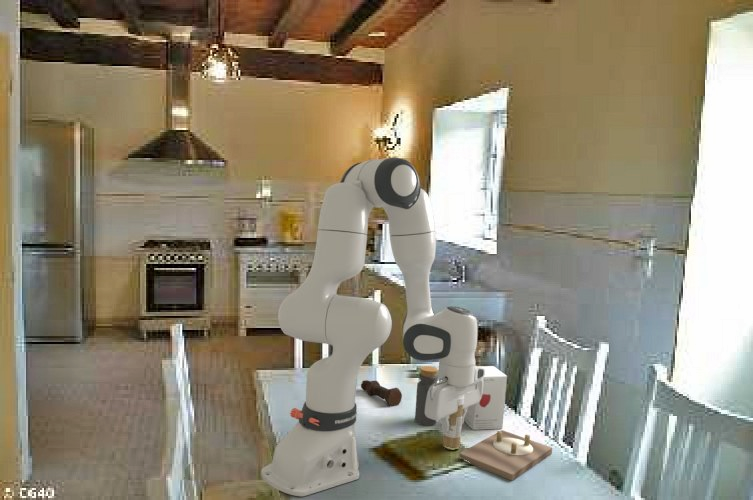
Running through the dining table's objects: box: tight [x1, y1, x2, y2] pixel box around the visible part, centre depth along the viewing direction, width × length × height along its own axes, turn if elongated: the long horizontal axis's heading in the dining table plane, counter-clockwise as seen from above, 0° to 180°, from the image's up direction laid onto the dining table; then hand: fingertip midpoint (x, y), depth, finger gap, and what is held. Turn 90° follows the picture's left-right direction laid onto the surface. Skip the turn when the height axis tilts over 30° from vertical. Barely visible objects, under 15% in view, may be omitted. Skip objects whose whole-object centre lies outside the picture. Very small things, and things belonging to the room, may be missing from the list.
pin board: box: [458, 429, 553, 481], centre depth 142 cm, size 20×14×4 cm
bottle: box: [414, 365, 439, 427], centre depth 160 cm, size 6×6×15 cm
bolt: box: [360, 379, 403, 407], centre depth 176 cm, size 6×5×15 cm
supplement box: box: [464, 365, 508, 431], centre depth 161 cm, size 9×9×15 cm
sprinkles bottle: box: [442, 396, 464, 448], centre depth 145 cm, size 5×5×13 cm
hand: (452, 427), depth 145 cm, fingers closed on sprinkles bottle, 4 cm apart
